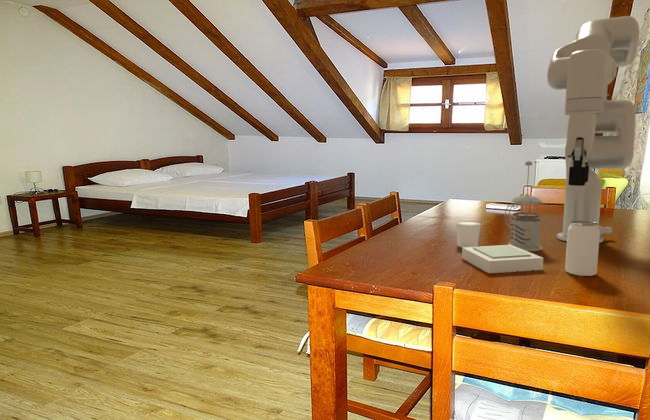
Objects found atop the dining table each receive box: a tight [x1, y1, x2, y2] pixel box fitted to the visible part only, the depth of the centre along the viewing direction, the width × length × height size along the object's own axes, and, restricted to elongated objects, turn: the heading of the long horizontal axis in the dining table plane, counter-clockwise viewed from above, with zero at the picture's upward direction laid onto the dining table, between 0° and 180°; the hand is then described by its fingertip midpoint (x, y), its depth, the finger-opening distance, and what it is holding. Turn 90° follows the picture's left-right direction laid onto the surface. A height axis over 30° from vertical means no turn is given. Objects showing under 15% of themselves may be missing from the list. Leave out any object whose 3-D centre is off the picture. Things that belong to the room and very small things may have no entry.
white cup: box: [455, 220, 481, 248], centre depth 134 cm, size 7×7×7 cm
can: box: [564, 221, 600, 277], centre depth 106 cm, size 6×6×12 cm
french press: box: [504, 160, 543, 252], centre depth 131 cm, size 10×12×25 cm
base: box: [461, 244, 544, 274], centre depth 115 cm, size 14×14×3 cm
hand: (578, 183), depth 104 cm, fingers open, 9 cm apart
